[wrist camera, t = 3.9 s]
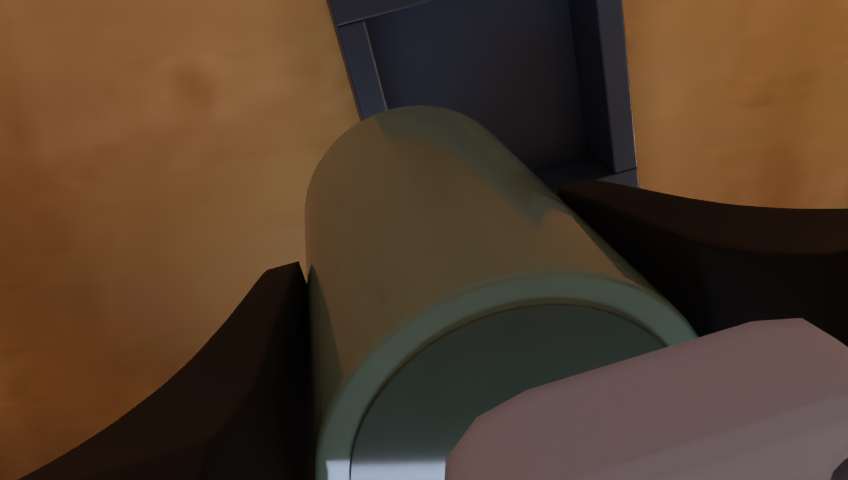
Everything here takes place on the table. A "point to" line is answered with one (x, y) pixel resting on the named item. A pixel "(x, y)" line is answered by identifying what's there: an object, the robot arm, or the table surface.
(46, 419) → the table surface
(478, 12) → the cup holder
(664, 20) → the table surface
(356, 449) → the green cup
